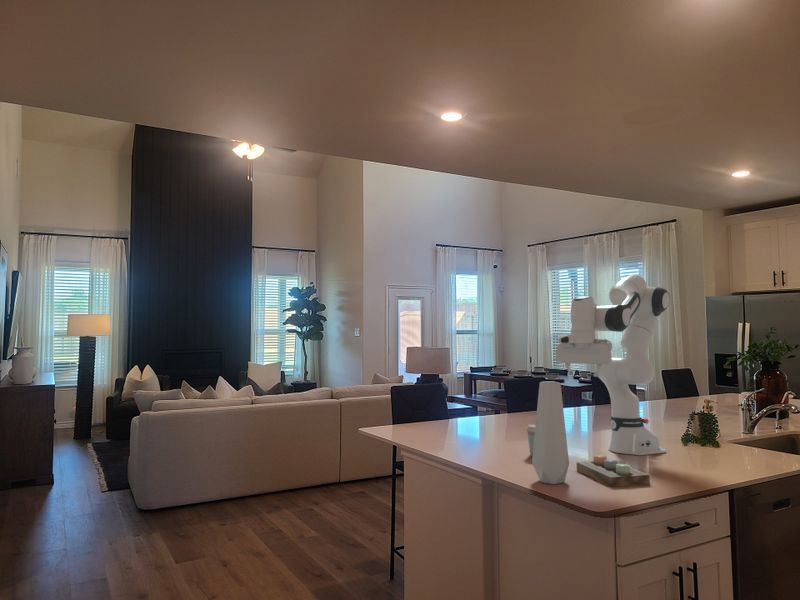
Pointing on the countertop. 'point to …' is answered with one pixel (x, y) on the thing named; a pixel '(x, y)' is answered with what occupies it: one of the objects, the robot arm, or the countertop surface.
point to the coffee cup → (531, 437)
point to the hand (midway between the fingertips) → (583, 376)
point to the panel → (612, 475)
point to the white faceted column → (550, 435)
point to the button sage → (622, 469)
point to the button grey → (610, 464)
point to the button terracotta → (599, 459)
